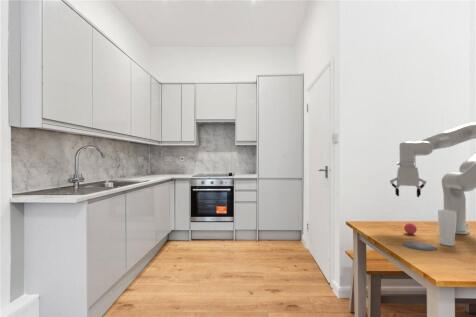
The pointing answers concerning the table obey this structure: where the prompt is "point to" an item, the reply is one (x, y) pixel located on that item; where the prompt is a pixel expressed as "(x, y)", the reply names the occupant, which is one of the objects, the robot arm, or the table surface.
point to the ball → (410, 228)
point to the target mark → (419, 246)
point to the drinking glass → (447, 227)
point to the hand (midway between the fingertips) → (407, 196)
